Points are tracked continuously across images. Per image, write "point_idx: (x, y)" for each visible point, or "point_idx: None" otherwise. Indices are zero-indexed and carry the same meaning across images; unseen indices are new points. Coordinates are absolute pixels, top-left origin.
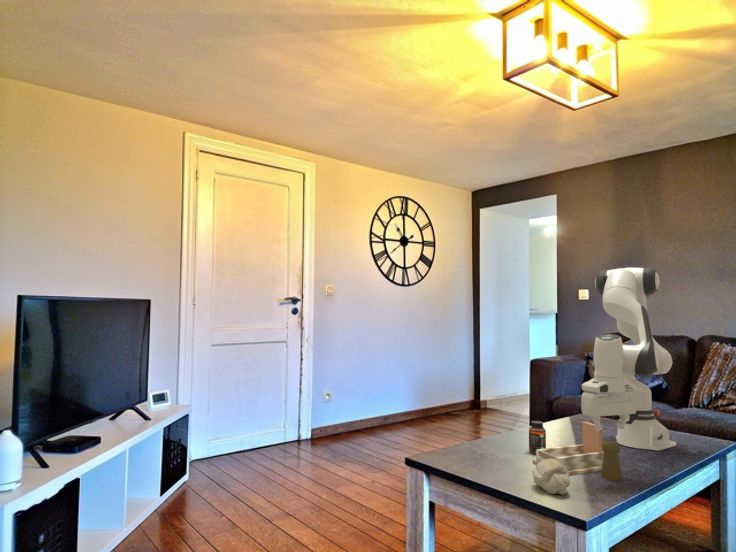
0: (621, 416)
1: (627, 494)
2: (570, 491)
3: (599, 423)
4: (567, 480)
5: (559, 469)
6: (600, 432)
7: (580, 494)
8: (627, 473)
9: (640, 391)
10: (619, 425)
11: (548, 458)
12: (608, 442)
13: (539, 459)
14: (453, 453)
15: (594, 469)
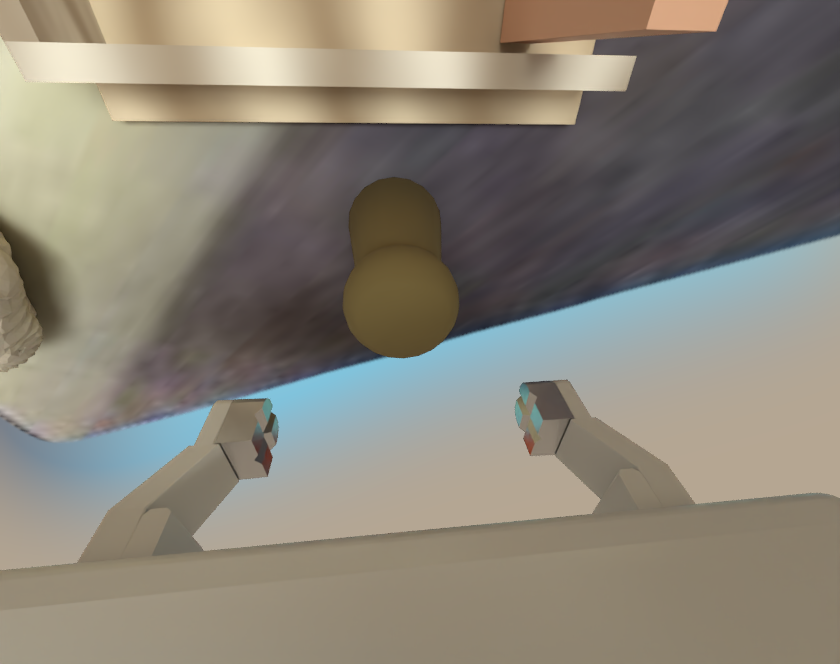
0: (606, 499)
1: (308, 365)
2: (85, 296)
3: (206, 503)
4: (2, 371)
5: None
6: (628, 34)
7: (120, 328)
8: (519, 207)
9: None
10: (532, 415)
11: None
12: (377, 328)
13: None
14: None
15: (379, 122)
